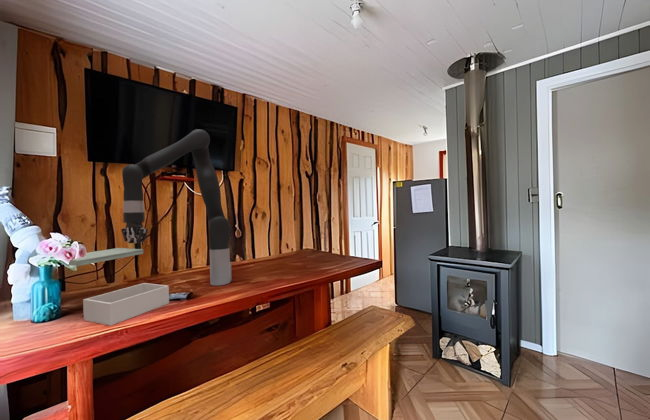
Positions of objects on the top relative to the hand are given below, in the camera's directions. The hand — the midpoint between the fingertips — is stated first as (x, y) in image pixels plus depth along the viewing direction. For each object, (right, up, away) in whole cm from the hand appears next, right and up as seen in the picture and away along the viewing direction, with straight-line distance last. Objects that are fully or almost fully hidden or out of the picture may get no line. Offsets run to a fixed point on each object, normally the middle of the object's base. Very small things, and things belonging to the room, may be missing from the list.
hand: (134, 251), depth 118 cm
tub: (+10, -19, -18) cm, 28 cm away
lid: (-4, -1, -11) cm, 11 cm away
